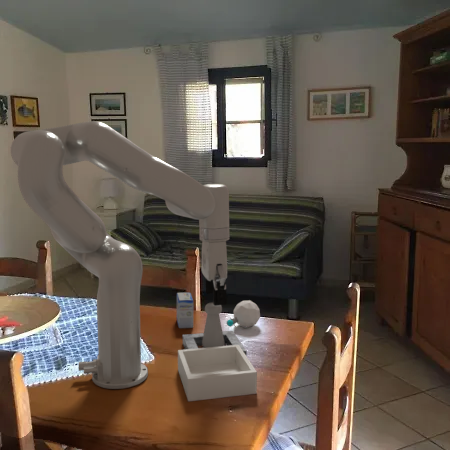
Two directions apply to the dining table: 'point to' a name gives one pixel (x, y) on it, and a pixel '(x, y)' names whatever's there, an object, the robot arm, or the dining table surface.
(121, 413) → the dining table surface
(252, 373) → the bin
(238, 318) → the perfume bottle
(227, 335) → the collar block
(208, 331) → the salt shaker
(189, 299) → the medicine box
